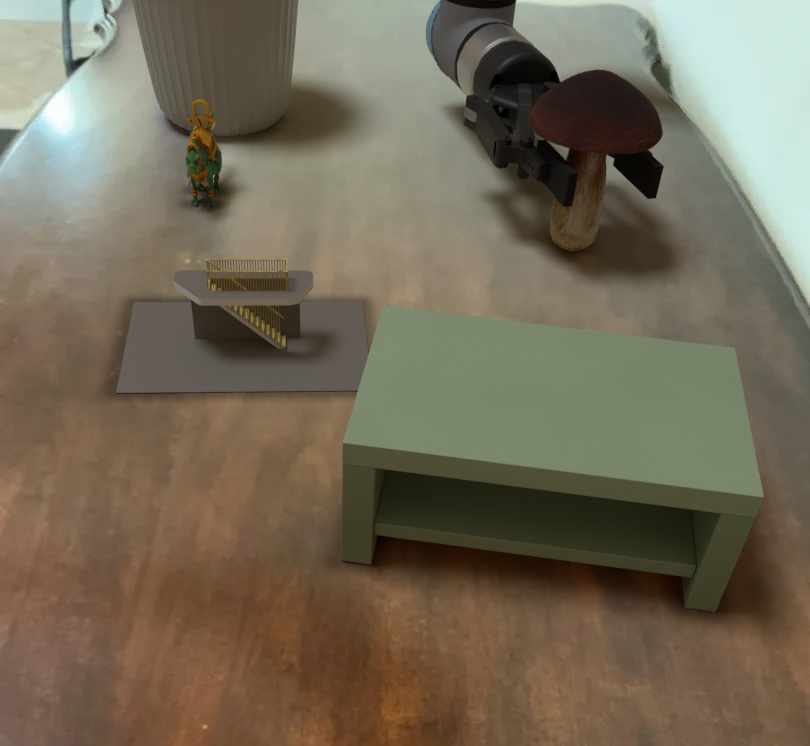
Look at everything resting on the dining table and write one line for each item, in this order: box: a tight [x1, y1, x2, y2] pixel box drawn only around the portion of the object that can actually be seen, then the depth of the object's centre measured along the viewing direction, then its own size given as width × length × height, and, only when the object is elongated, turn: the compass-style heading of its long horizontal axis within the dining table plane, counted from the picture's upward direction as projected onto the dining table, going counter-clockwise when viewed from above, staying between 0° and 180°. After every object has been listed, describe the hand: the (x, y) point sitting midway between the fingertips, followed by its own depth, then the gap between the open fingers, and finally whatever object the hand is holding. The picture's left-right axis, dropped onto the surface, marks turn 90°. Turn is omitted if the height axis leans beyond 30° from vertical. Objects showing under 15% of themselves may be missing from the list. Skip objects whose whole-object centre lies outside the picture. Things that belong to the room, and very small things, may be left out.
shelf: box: [340, 304, 765, 613], centre depth 59 cm, size 22×14×9 cm, turn 82°
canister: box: [131, 0, 299, 137], centre depth 96 cm, size 18×18×21 cm
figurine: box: [184, 99, 223, 207], centre depth 88 cm, size 3×12×8 cm, turn 179°
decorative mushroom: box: [528, 69, 664, 253], centre depth 81 cm, size 11×11×15 cm
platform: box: [115, 258, 369, 394], centre depth 71 cm, size 12×18×7 cm, turn 95°
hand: (613, 186), depth 78 cm, fingers open, 7 cm apart
